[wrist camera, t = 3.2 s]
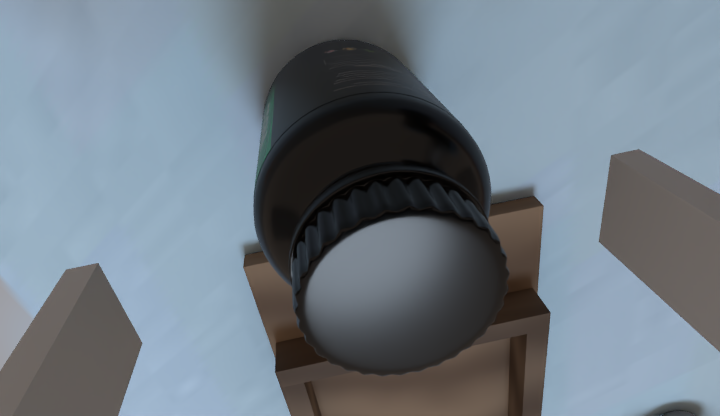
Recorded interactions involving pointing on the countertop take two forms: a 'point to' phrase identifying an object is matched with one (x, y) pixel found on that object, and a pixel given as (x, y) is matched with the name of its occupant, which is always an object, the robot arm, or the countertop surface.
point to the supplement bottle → (375, 212)
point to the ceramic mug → (678, 413)
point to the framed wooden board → (434, 384)
